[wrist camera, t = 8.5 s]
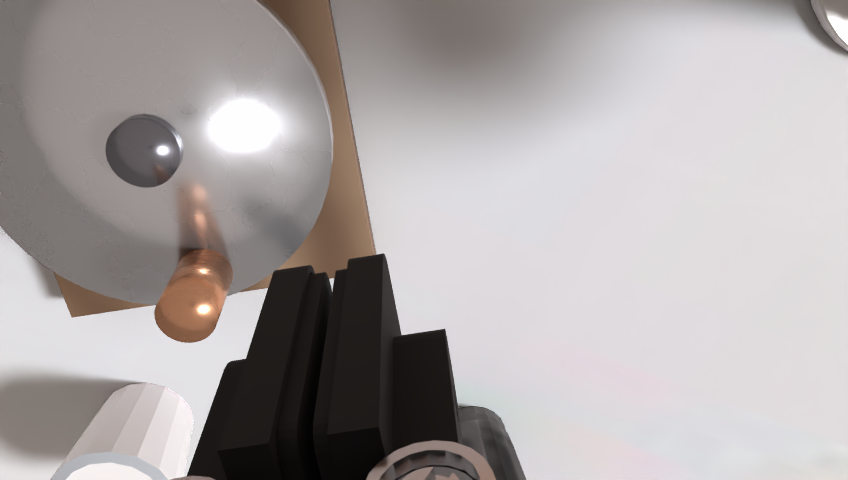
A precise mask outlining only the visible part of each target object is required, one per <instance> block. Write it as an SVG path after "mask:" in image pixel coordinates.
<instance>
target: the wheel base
mask: <svg viewBox="0 0 848 480" xmlns="http://www.w3.org/2000/svg"><path fill="white" fill-rule="evenodd" d="M263 1H264V2H265V3H266V4H267V5H269V6H270V7H271V8H272V9H273V10H274V11H275V12H276V13H277V14H278V15H279V16H280V18H281V19H282V20H283V21H284V22H285V23H286V24H287V25H288V26H289V27H290V28H291V30H292V31H293V33H294V34H295V35H296V37H297V38H298V39H299V41H300V42H301V44H302V45H303V46H304V48H305V50H306V51H307V53H308V55H309V57H310V59H311V60H312V62H313V64H314V66H315V67H316V70H317V72H318V75H319V77H320V79H321V82H322V84H323V87H324V89H325V93H326V97H327V100H328V104H329V108H330V112H331V119H332V128H333V160H332V167H331V173H330V180H329V186H328V190H327V194H326V197H325V200H324V203H323V207H322V209H321V211H320V214H319V216H318V218H317V220H316V222H315V224H314V226H313V228H312V230H311V231H310V233H309V234H308V236H307V237H306V239H305V240H304V242H303V243H302V245H301V246H300V247H299V248H298V249H297V250H296V251H295V252H294V254H293V255H292V256H291V257H290V258H289V259H288V260H287V261H286V262H285V263H284V264H282V265H281V266H280V267H279V268H278V269H277V270H281V269H287V268H294V267H300V266H307V265H311V266H312V267H313V269H314V272H315V274H316V273H323V272H326V273H327V275H328V278H329V279H330V278H335V272H336V270H342V269H347V264H348V259H352V258H358V257H365V256H371V255H376V251H375V245H374V240H373V234H372V229H371V223H370V218H369V212H368V207H367V202H366V196H365V191H364V185H363V180H362V174H361V169H360V164H359V158H358V153H357V147H356V142H355V136H354V131H353V125H352V120H351V115H350V109H349V104H348V98H347V93H346V87H345V82H344V77H343V71H342V66H341V60H340V55H339V49H338V44H337V38H336V33H335V28H334V22H333V17H332V11H331V6H330V0H263ZM54 274H55V277H56V279H57V282H58V284H59V287H60V289H61V292H62V294H63V297H64V299H65V302H66V304H67V307H68V309H69V312H70V314H71V317H78V316H85V315H91V314H98V313H104V312H111V311H118V310H124V309H131V308H138V307H144V306H151V305H148V304H141V303H134V302H128V301H124V300H120V299H116V298H112V297H108V296H105V295H102V294H99V293H96V292H94V291H91V290H88V289H85V288H83V287H81V286H79V285H77V284H75V283H73V282H71V281H69V280H67V279H65V278H63V277H61V276H60V275H58V274H56V273H55V272H54ZM272 275H273V273H272V274H270V275H269V276H267V277H265V278H264V279H262V280H261V281H259V282H258V283H256V284H254V285H252V286H250V287H248V288H246V289H244V290H242V291H240V292H244V291H250V290H257V289H263V288H268V287H269V284H270V281H271V278H272Z"/></svg>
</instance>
